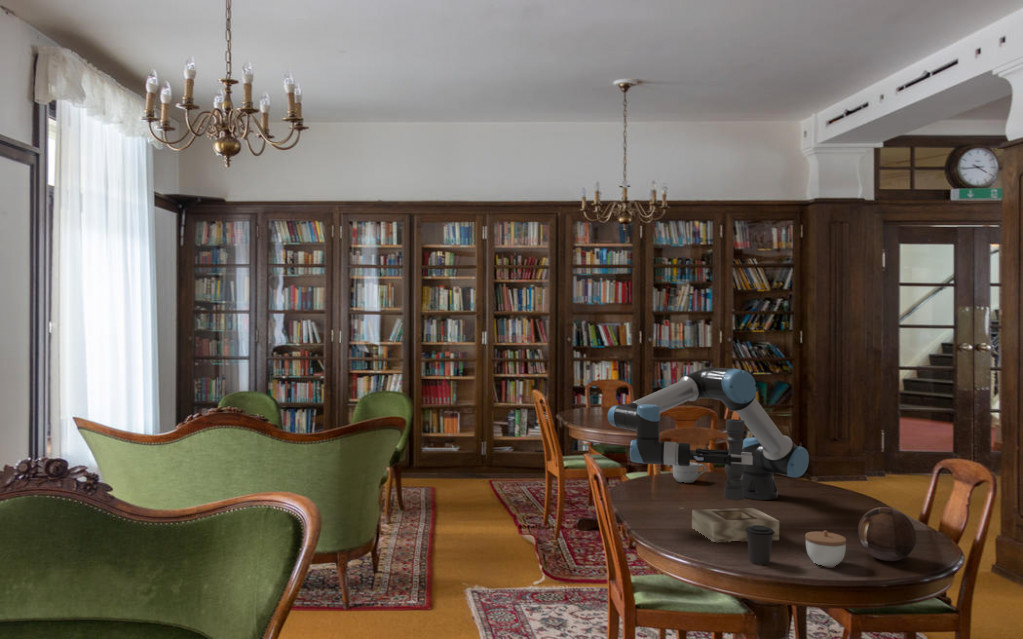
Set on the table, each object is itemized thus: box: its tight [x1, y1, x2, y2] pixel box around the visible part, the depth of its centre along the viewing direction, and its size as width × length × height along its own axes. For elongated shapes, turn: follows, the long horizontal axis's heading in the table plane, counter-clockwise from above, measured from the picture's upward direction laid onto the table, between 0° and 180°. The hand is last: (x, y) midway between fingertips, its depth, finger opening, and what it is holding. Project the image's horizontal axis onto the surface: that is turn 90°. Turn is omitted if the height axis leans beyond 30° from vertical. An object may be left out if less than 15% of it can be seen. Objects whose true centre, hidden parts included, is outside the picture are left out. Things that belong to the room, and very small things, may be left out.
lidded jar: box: [804, 530, 847, 567], centre depth 208 cm, size 11×11×9 cm
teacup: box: [672, 461, 706, 484], centre depth 314 cm, size 14×11×8 cm
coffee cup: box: [745, 525, 775, 566], centre depth 209 cm, size 8×8×10 cm
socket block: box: [691, 507, 780, 543], centre depth 237 cm, size 22×16×6 cm
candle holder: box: [723, 418, 745, 501], centre depth 237 cm, size 6×6×25 cm
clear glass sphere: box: [857, 506, 917, 562], centre depth 213 cm, size 15×15×15 cm
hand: (751, 458), depth 235 cm, fingers closed on candle holder, 5 cm apart
